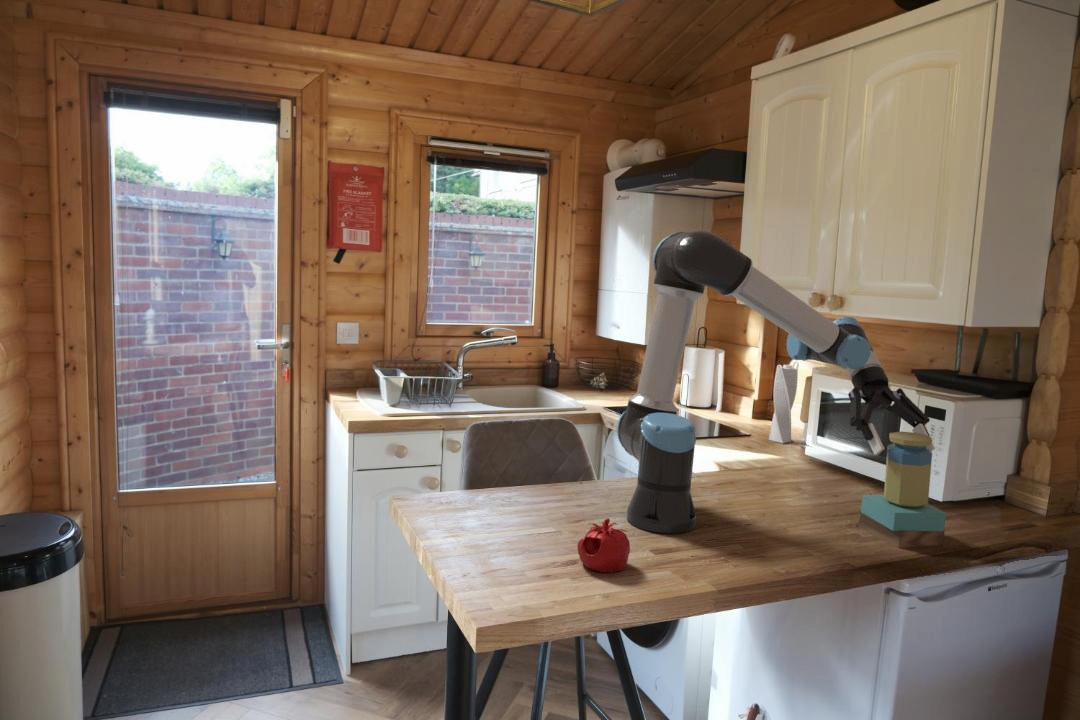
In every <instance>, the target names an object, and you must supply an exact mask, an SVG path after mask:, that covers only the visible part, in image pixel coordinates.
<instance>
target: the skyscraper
mask: <svg viewBox="0 0 1080 720" xmlns="http://www.w3.org/2000/svg"><path fill="white" fill-rule="evenodd" d="M799 364H800V363H799V362H798V361H794V362H793V364H792V365H791V364H783V366H782V365H781V364H778V365H776V370H775V374H774V375H775V376H774V382H773V395H772V396H773V408H774V412H773V415H772V421H771V425H770V430H769V436H768V437H767V438H766V437H765V438H764V441H768V442H773V443H776V444H780V445H786V444H787V445H788V444H791V443H794V440H792V409H793V406H794V403H795V399H796V396H797V395H796V394H797V387H798V378H799V377H798V375H799V374H798V373H799V366H800V365H799ZM795 365H797V366H796V368H795Z"/></svg>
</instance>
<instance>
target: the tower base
mask: <svg viewBox="0 0 1080 720" xmlns="http://www.w3.org/2000/svg"><path fill="white" fill-rule="evenodd" d="M858 529H859V530H861V531H863V532H865V533H866V534H869V535H871V536H874V537H875V538H877V539H879V540H881V541H882V542H886V544H889V545H891V546H893V547H896V548H897V549H902V548H915V547H916V548H917V547H930V546H942V545H941V544H943V543H944V539H945V537H944V536H945V528H944V531H892V530H891V529H889V528H887V527H885V526H884V525H882V524H880V523H879V522H877V521H875V520H874V519H872V518H870V517H869V516H867V515H865V514H864V513H862V512H860V514H859V520H858Z"/></svg>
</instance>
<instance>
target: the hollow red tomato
mask: <svg viewBox="0 0 1080 720" xmlns="http://www.w3.org/2000/svg"><path fill="white" fill-rule="evenodd" d="M610 522H611V519H610V518H608V517H606V518H605V519H604V520H603V521H601V522H600V523H601V525H598V524H597V523H593V522H592V523H586V524H587V525H593V526H591V527H590V528H589V530H588V531H587V533H586V534H585V536H584V537H583V538H581V539H579V541H578V542H577V554H578V556H579V557H578V558H579V560H580V561H581V563H582V564H584V566H585V567H586V568H587V569H590V570H592V571H595V572H599V573H604V574H605V573H609V574H610V573H613V572H614V573H615V572H620V571H621V570H623V569H624V568H626V566H627V564H628V562H629V561H628V560H629V558H630V557H629V556H630V552H631V546H630V540H629V538H628V536H627V534H626V533H624V532H628V530H626V529H622V528H613V526H614V525H620V524H617V523H616V522H612V523H610Z"/></svg>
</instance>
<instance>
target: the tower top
mask: <svg viewBox="0 0 1080 720" xmlns="http://www.w3.org/2000/svg"><path fill="white" fill-rule="evenodd" d="M860 513H864V514H865V515H867V516H869V517H870V518H872V519H874V520H875V521H877V522H879V523H880V524H882V525H884V526H885V527H887V528H889V529H891V530H892V531H944V529H945V524H946V519H947V518H946V516H947V513H946V512H944V511H943V510H941V509H939V508H937V507H935V506H933V505H931V504H929V503H928V504H926V505H924V506H920V507H915V508H911V507H902V506H898V505H895V504H893V503H890V502H888V501H887V500H885V497H884V494H863V495H862V499H861V507H860ZM944 532H945V531H944Z"/></svg>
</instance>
